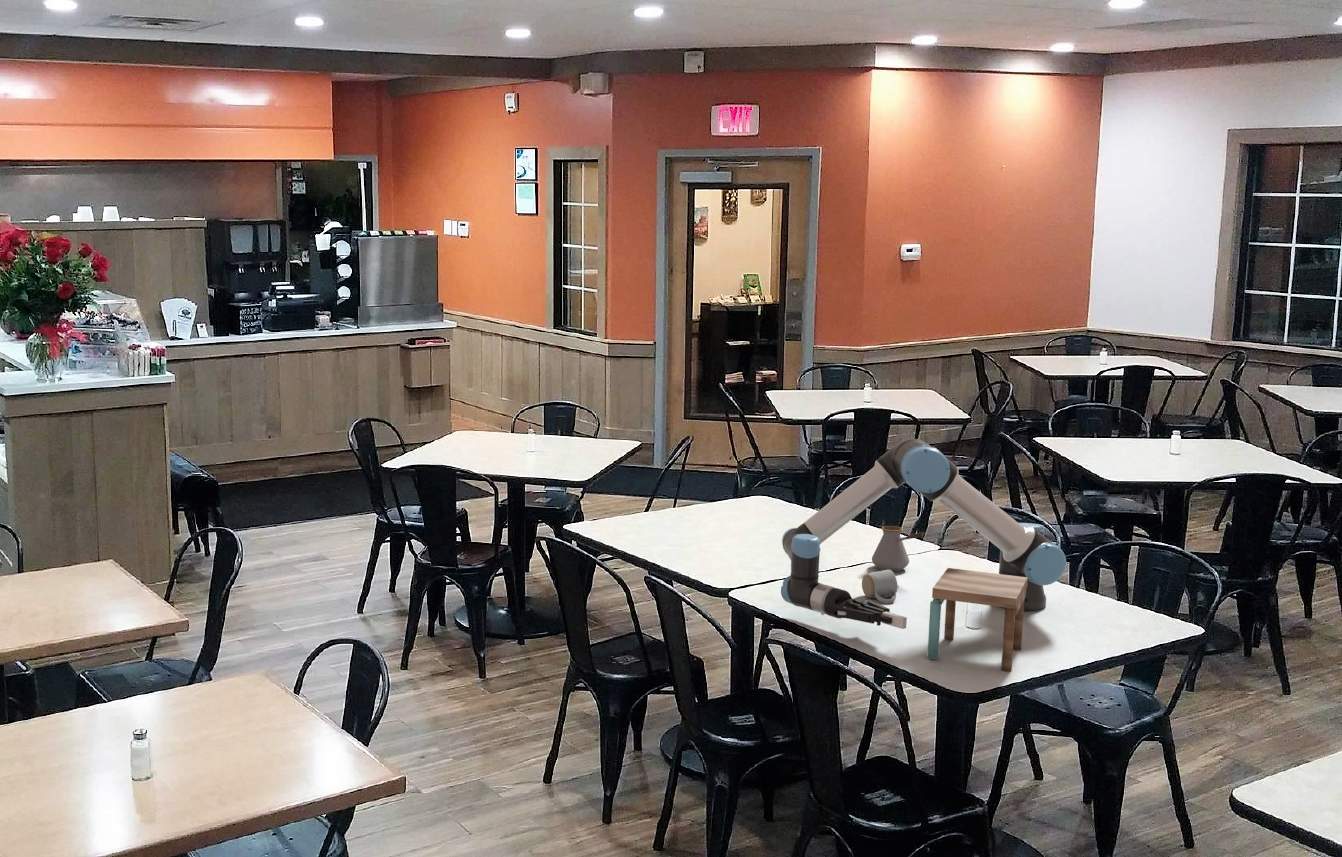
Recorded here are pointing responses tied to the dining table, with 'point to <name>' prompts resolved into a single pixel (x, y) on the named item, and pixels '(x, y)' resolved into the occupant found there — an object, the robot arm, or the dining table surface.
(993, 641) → the dining table surface
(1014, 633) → the stool
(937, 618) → the folding leg
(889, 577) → the ceramic mug
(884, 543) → the coffee pot
